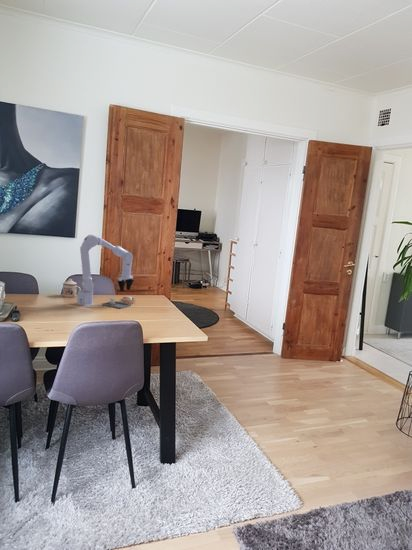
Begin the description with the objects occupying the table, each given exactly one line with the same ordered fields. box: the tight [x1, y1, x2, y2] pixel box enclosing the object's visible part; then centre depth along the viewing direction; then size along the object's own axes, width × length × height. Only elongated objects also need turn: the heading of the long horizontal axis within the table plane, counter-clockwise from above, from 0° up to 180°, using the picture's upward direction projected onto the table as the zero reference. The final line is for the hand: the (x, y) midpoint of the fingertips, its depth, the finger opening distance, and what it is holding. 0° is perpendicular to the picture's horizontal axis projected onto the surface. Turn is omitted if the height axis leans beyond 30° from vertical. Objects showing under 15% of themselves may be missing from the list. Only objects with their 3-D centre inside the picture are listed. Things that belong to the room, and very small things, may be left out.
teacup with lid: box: [62, 278, 82, 298], centre depth 286 cm, size 12×9×12 cm
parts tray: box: [101, 300, 132, 310], centre depth 271 cm, size 12×14×2 cm
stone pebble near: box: [109, 297, 116, 305], centre depth 272 cm, size 4×4×4 cm
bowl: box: [119, 296, 137, 305], centre depth 283 cm, size 10×10×3 cm
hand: (124, 290), depth 278 cm, fingers open, 7 cm apart
